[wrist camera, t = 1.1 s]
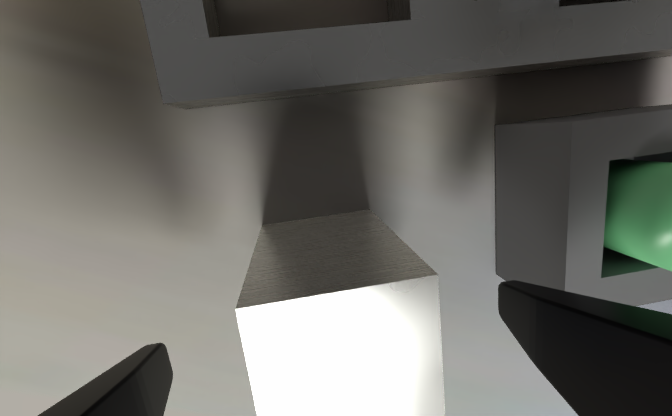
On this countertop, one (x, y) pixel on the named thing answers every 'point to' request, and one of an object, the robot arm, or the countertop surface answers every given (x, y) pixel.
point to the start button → (640, 210)
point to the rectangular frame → (393, 46)
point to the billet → (341, 321)
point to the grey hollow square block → (574, 202)
